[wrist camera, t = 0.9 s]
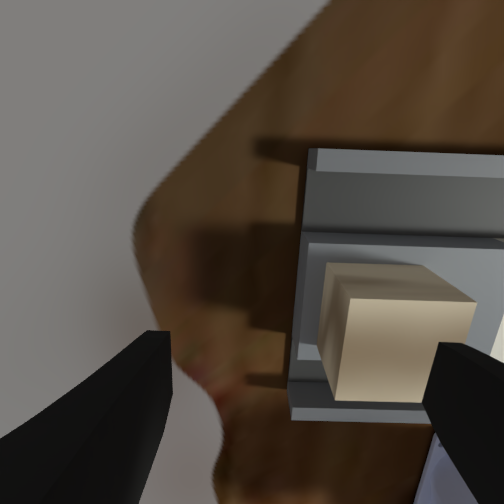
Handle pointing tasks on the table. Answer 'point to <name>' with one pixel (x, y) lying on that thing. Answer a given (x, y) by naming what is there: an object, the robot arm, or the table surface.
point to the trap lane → (395, 252)
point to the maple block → (386, 329)
